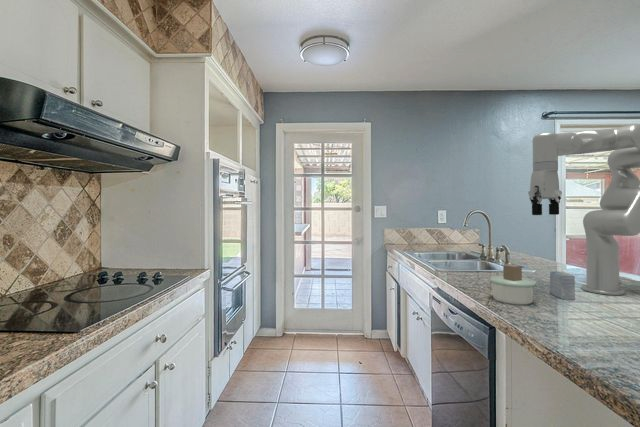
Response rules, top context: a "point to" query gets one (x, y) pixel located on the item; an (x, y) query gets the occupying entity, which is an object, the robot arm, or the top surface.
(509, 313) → the top surface
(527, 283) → the lid
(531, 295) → the bowl
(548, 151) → the robot arm
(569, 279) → the medicine box
